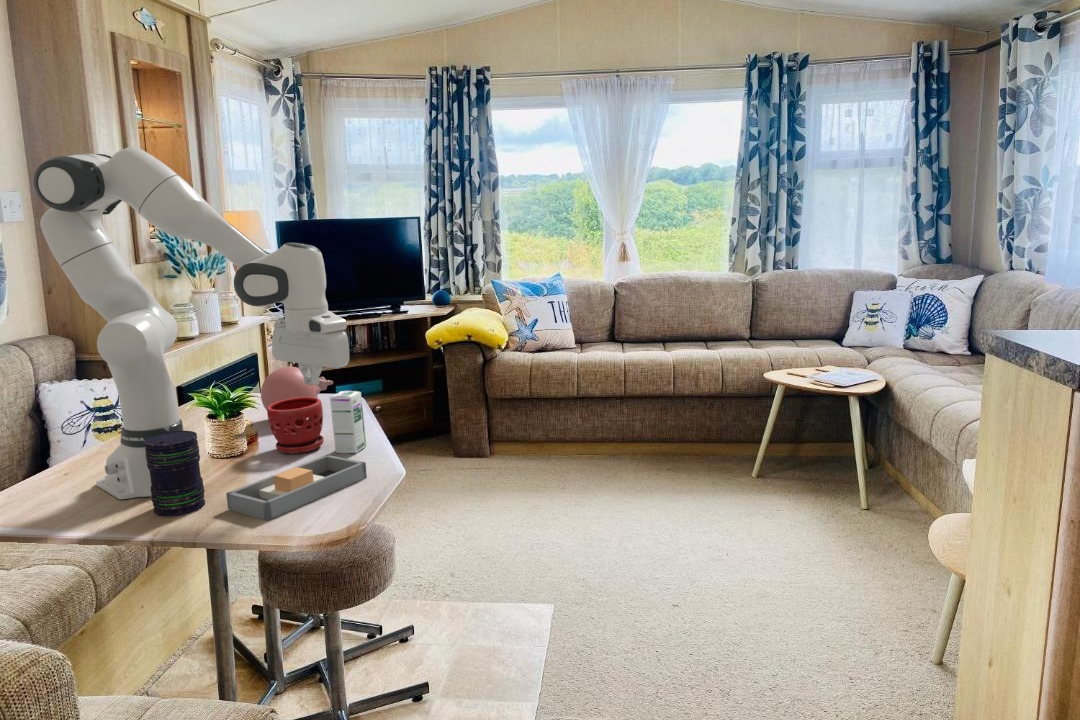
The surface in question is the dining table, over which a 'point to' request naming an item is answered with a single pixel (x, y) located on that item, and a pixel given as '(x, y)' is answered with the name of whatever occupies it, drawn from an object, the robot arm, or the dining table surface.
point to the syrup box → (348, 422)
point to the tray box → (272, 502)
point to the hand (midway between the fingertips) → (311, 384)
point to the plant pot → (296, 424)
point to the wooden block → (293, 479)
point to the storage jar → (175, 473)
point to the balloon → (289, 386)
